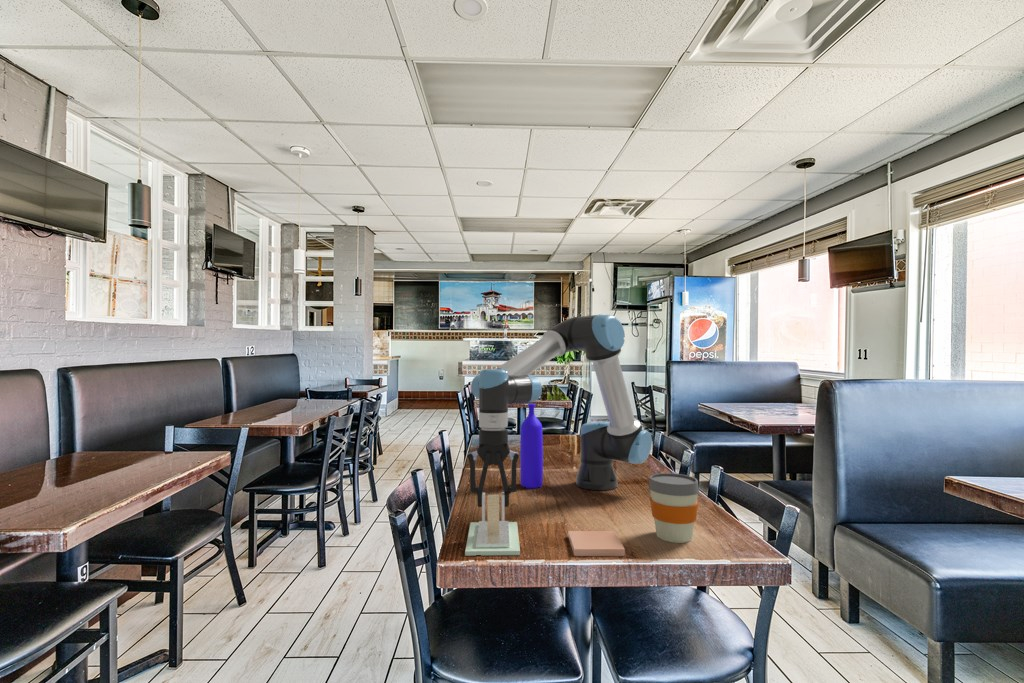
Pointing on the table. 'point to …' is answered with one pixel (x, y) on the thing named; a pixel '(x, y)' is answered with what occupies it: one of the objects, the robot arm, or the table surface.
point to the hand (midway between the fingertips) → (493, 519)
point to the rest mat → (473, 551)
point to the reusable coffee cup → (674, 506)
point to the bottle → (531, 451)
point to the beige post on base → (493, 527)
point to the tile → (595, 543)
